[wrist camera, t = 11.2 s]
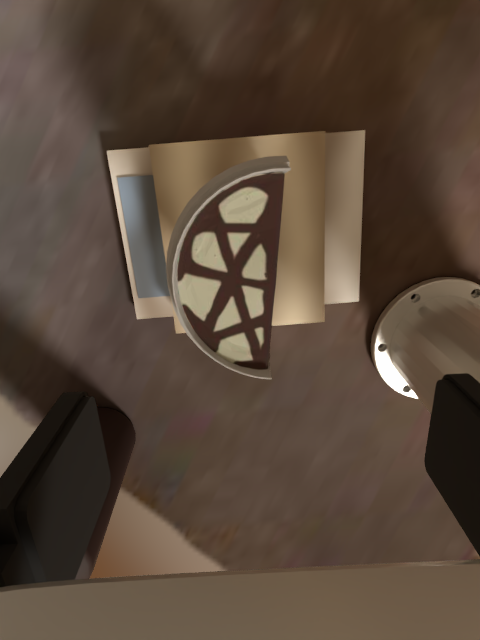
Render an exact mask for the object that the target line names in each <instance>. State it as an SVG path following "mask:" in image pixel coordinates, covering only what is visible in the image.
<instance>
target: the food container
mask: <svg viewBox="0 0 480 640" xmlns="http://www.w3.org/2000/svg"><path fill="white" fill-rule="evenodd" d="M289 170H291V168H290V167H289V160H288V158H287V156H268V157H263V158H258V159H253V160H249V161H246V162H243V163H241V164H238V165H235V166H233V167H230V168H229V169H227V170H225V171H224V172H222V173H220V174H218V175H217V176H215V177H214V178H212V179H211V180H210V181H209V182H208V183H206V184H205V185H204V186H203V187H202V188H200V189H199V190H198V192H197V193H196V194H195V195H194V196H193V197H192V198H191V200H190V201H189V202H188V203H187V205H186V206H185V208H184V210H183V211H182V213H181V214H180V216H179V218H178V220H177V222H176V224H175V227H174V229H173V232H172V234H171V238H170V242H169V246H168V251H167V262H166V274H167V284H168V289H169V293H170V297H171V300H172V304H173V308H174V310H175V313H176V315H177V317H178V319H179V322H180V324H181V325H182V327H183V328H184V330H185V331H186V333H187V334H188V336H189V337H190V338H191V340H192V341H193V342H194V343H195V344H196V345H197V346H198V347H199V348H200V349H201V350H202V351H203V352H204V353H206V354H207V355H208V356H209V357H211V358H212V359H213V360H215V361H216V362H218V363H220V364H221V365H223V366H225V367H226V368H228V369H230V370H233V371H235V372H238V373H240V374H243V375H247V376H251V377H255V378H262V379H271V380H272V377H271V371H270V364H269V359H270V353H269V351H270V338H271V328H272V317H273V306H274V297H275V288H276V277H277V262H278V250H279V238H280V227H281V216H282V204H283V192H284V178H285V173H286V172H288V171H289Z"/></svg>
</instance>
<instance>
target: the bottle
mask: <svg viewBox="0 0 480 640" xmlns="http://www.w3.org/2000/svg"><path fill="white" fill-rule="evenodd" d="M97 411H98V416H99V421H100V426H101V431H102V435H103V440H104V445H105V450H106V455H107V460H108V465H109V469H110V475H111V482H110V488H109V491H108V493H107V496H106V499H105V501H104V504H103V507H102V509H101V512H100V514H99V517H98V520H97V522H96V525H95V528H94V530H93V533H92V536H91V538H90V541H89V544H88V546H87V549H86V552H85V554H84V557H83V560H82V562H81V565H80V567H79V570H78V573H77V575H76V578H75V580H79V579H89V578H90V576H91V574H92V571H93V569H94V566H95V563H96V560H97V557H98V554H99V551H100V548H101V545H102V542H103V539H104V536H105V533H106V530H107V526H108V524H109V520H110V517H111V514H112V511H113V508H114V505H115V502H116V499H117V496H118V493H119V490H120V487H121V484H122V481H123V478H124V475H125V472H126V469H127V466H128V462H129V459H130V456H131V453H132V450H133V447H134V444H135V430H134V428H133V425H132V423H131V422H130V421H129V420H128V418H127V417H126V416H124V415H123V414H121V413H120V412H118V411H116V410H113V409H110V408H102V407H97Z"/></svg>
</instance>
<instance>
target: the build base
mask: <svg viewBox="0 0 480 640" xmlns="http://www.w3.org/2000/svg"><path fill="white" fill-rule="evenodd" d="M364 151H365V130H360V131H347V132H335V133H325V131H316V132H304V133H291V134H278V135H266V136H253V137H241V138H228V139H216V140H203V141H191V142H178V143H166V144H153V145H149V147H147V148H135V149H122V150H109V151H107V157H108V162H109V168H110V173H111V179H112V184H113V190H114V195H115V201H116V206H117V212H118V217H119V223H120V228H121V234H122V239H123V245H124V250H125V256H126V261H127V267H128V272H129V278H130V283H131V289H132V294H133V300H134V305H135V311H136V316H137V319H145V318H158V317H170V316H174V322H175V329H176V333H186V331H185V330H184V328H183V327H182V325H181V324H180V322H179V319H178V317H177V315H176V313H175V310H174V308H173V304H172V300H171V297H170V293H169V289H168V284H167V274H166V262H167V251H168V246H169V242H170V238H171V234H172V232H173V229H174V227H175V224H176V222H177V220H178V218H179V216H180V214H181V213H182V211H183V210H184V208H185V206H186V205H187V203H188V202H189V201H190V200H191V198H192V197H193V196H194V195H195V194H196V193H197V192H198V190H199V189H200V188H202V187H203V186H204V185H205V184H206V183H208V182H209V181H210V180H211V179H212V178H214V177H215V176H217V175H218V174H220V173H222V172H224V171H225V170H227V169H229V168H230V167H233V166H235V165H238V164H241V163H243V162H246V161H249V160H253V159H258V158H263V157H268V156H287V158H288V160H289V167H290V168H291V170H289V171H288V172H286V173H285V178H284V192H283V204H282V216H281V227H280V238H279V250H278V262H277V277H276V288H275V297H274V306H273V317H272V326H276V325H289V324H301V323H314V322H324V304H334V303H346V302H359V284H360V257H361V231H362V204H363V178H364Z"/></svg>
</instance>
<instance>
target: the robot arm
mask: <svg viewBox="0 0 480 640" xmlns="http://www.w3.org/2000/svg"><path fill="white" fill-rule="evenodd" d="M413 294H414V295H413ZM412 295H413V297H411V296H412ZM380 344H381V345H380ZM379 345H380V346H379ZM371 355H372V360H373V363H374V366H375V368H376V370H377V372H378V373H379V375H380V376H381V378H382V379H383V380H384V381H385V383H386V384H387V385H388V386H390V387H391V388H392V389H393V390H395V391H396V392H398V393H400V394H402V395H404V396H408V397H412V398H415V399H419V400H420V401H421V402H422V404H423V405H424V406H425V407H426V409H427V410H428V411H429V412H430V414H431V420H430V427H429V433H428V440H427V446H426V453H425V467H426V470H427V473H428V475H429V476H430V478H431V479H432V481H433V483H434V484H435V486H436V487H437V489H438V490H439V492H440V494H441V495H442V497H443V498H444V500H445V502H446V503H447V505H448V506H449V508H450V510H451V511H452V513H453V514H454V516H455V518H456V519H457V521H458V522H459V524H460V526H461V527H462V529H463V530H464V532H465V534H466V535H467V537H468V538H469V540H470V542H471V543H472V545H473V546H474V548H475V550H476V551H477V553H478V554H479V556H480V285H478V284H477V283H475V282H472V281H469V280H466V279H463V278H457V277H439V278H433V279H429V280H425V281H422V282H420V283H418V284H415V285H413V286H411V287H409V288H408V289H406V290H405V291H403V292H402V293H400V294H399V295H398V296H397V297H396V298H394V299H393V300H392V301H391V302H390V303H389V304H388V306H387V307H386V308H385V309H384V311H383V312H382V313H381V315H380V317H379V319H378V321H377V323H376V324H375V327H374V331H373V334H372V339H371ZM110 482H111V475H110V469H109V465H108V460H107V455H106V450H105V445H104V440H103V435H102V431H101V426H100V421H99V416H98V411H97V406H96V402H95V399H94V397H89V396H88V394H87V393H86V392H67V393H63V394H62V395H61V396H60V397H59V399H58V400H57V401H56V403H55V404H54V406H53V407H52V408H51V410H50V411H49V412H48V414H47V415H46V416H45V418H44V419H43V420H42V422H41V423H40V425H39V426H38V427H37V429H36V430H35V431H34V433H33V434H32V435H31V437H30V438H29V440H28V441H27V442H26V444H25V445H24V446H23V448H22V449H21V450H20V452H19V453H18V455H17V456H16V457H15V458H14V460H13V461H12V463H11V464H10V465H9V467H8V468H7V470H6V471H5V472H4V473H3V475H2V476H1V478H0V640H480V559H479V560H455V561H431V562H407V563H384V564H361V565H339V566H318V567H297V568H277V569H256V570H236V571H217V572H199V573H180V574H164V575H163V574H162V575H143V576H126V577H110V578H95V579H79V580H75V578H76V575H77V573H78V570H79V567H80V565H81V562H82V560H83V557H84V554H85V552H86V549H87V546H88V544H89V541H90V538H91V536H92V533H93V530H94V528H95V525H96V522H97V520H98V517H99V514H100V512H101V509H102V507H103V504H104V501H105V499H106V496H107V493H108V491H109V488H110Z"/></svg>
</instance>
